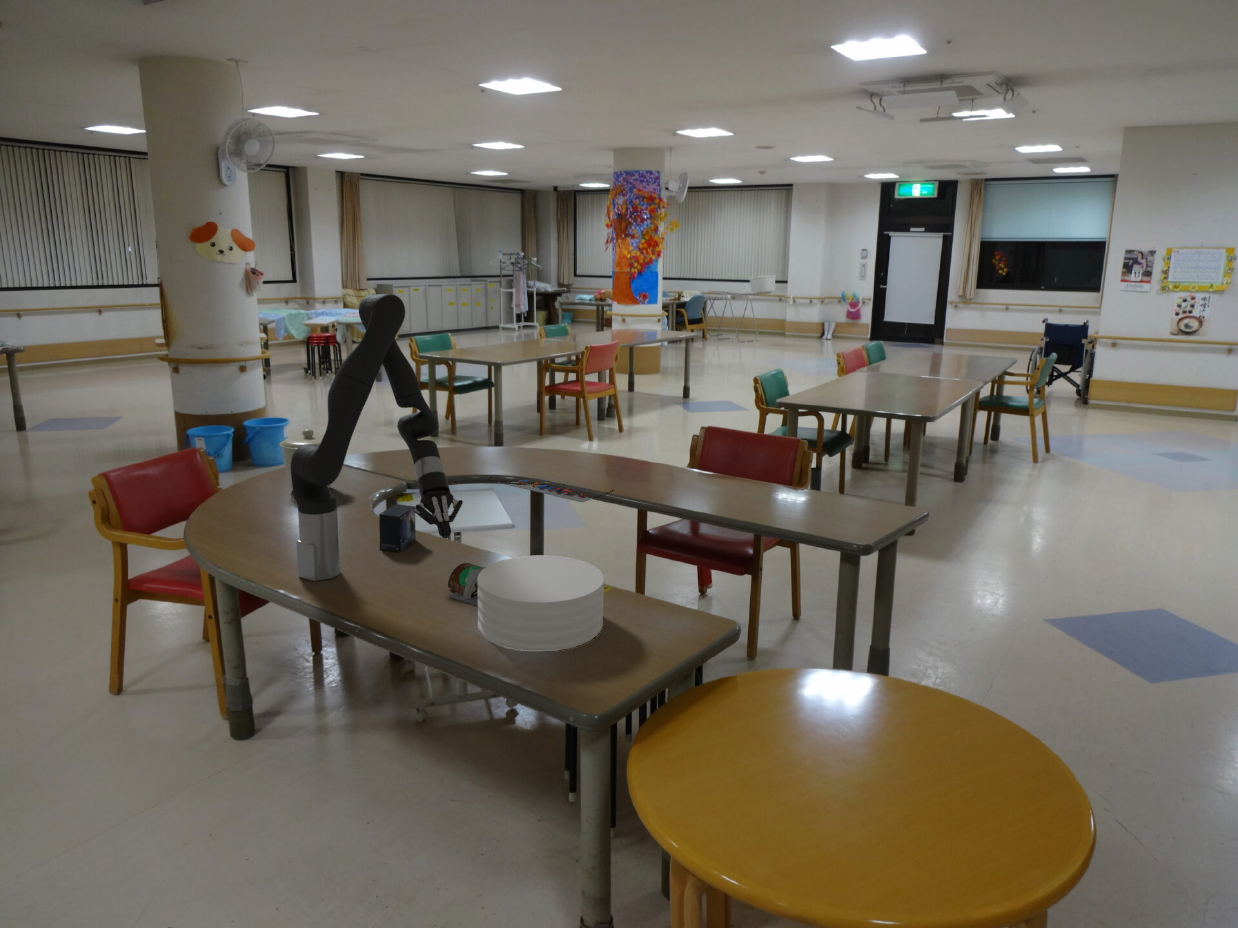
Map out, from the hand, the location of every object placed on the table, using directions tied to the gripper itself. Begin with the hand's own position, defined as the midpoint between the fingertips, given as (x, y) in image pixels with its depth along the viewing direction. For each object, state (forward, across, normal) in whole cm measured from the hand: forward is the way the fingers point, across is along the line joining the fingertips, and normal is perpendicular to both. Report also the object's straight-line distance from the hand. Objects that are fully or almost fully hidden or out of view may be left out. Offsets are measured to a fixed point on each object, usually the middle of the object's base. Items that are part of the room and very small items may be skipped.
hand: (446, 536), depth 216 cm
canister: (-59, -17, +74) cm, 97 cm away
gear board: (-42, +60, +58) cm, 93 cm away
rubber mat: (+17, +7, -1) cm, 18 cm away
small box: (-12, -5, +28) cm, 31 cm away
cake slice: (+9, +2, +1) cm, 10 cm away
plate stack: (+33, +10, -17) cm, 39 cm away
